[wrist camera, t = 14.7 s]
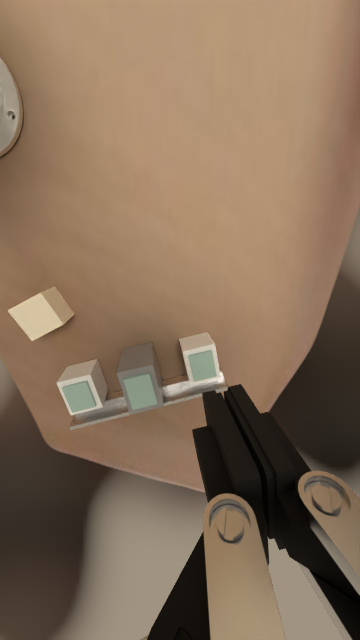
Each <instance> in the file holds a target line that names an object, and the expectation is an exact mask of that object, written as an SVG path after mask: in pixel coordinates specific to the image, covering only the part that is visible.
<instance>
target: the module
mask: <svg viewBox="0 0 360 640" xmlns="http://www.w3.org/2000/svg"><path fill="white" fill-rule="evenodd" d="M117 376H118V379H119V382H120V385H121V388H122V391H123V395H124V398H125V401H126V404H127V407H128V410H129V413H130V414H134V413H138V412H142V411H147V410H151V409H155V408H159V407H163V406H164V402H163V390H162V378H161V374H160V370H159V366H158V362H157V359H156V355H155V351H154V347H153V343H152V342H150V343H145V344H141V345H137V346H133V347H128V348H124V349H123V350H122V354H121V358H120V362H119V365H118V369H117Z"/></svg>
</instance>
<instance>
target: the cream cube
mask: <svg viewBox="0 0 360 640" xmlns="http://www.w3.org/2000/svg"><path fill="white" fill-rule="evenodd" d="M7 311H8V312H9V313H10V314H11V316H12V317H13V318H14V319H15V321H16V322H17V323H18V324H19V326H20V327H21V328H22V329H23V330H24V332H25V333H26V334H27V335H28V337H29V338H30V339H31V340H32V341H34V340H35V339H37V338H39V337H41V336H43V335H45V334H47V333H49V332H51V331H52V330H54V329H56V328H58V327H60V326H62V325H64V324H65V323H66V322H67V321H68V320H69V319H70V318H71V317H72V316H73V315H74V313H73V311H72V310H71V309H70V307H69V306H68V304H67V303H66V301H65V300H64V299H63V297H62V296H61V294H60V293H59V291H58V290H57V289H56V287H55V286H54V287H51V288H49V289H47V290H45V291H43V292H41V293H39V294H37V295H35V296H33V297H31V298H30V299H28V300H26V301H24V302H22V303H20V304H18V305H17V306H15V307H13V308H11V309H9V310H7Z"/></svg>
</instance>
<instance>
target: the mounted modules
mask: <svg viewBox="0 0 360 640" xmlns="http://www.w3.org/2000/svg"><path fill="white" fill-rule="evenodd" d="M179 342H180V346H181V350H182V355H183V359H184V363H185V368H186V372H187V375H188V379H189V382H190V385H193V384H197V383H201V382H205V381H209V380H213V379H217V378H221V375H220V370H219V364H218V359H217V353H216V347H215V343H214V342H213V340H212V338H211V337H210V335H209V334H208V332H205V333H201V334H197V335H193V336H189V337H185V338H181V339H179ZM57 385H58V388H59V390H60V392H61V394H62V397H63V399H64V401H65V403H66V406H67V408H68V410H69V412H70V415H75V414H79V413H83V412H87V411H90V410H94V409H98V408H102V407H103V405H104V402H105V398H106V395H107V391H108V387H107V384H106V382H105V379H104V376H103V373H102V371H101V368H100V365H99V363H98V360H97V359H95V360H91V361H87V362H83V363H78V364H74V365H70V366H67V368H66V369H65V371H64V372H63V374H62V375H61V377H60V378H59V380H58V381H57Z"/></svg>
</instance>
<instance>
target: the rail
mask: <svg viewBox="0 0 360 640" xmlns="http://www.w3.org/2000/svg"><path fill="white" fill-rule="evenodd" d="M219 370H220V375H221V378H217V379H213V380H209V381H205V382H201V383H197V384H193V385H190V382H189V379H188V375H187V374H186V375H182V376H178V377H174V378H170V379H166V380H162V390H163V402H164V406H167V405H171V404H175V403H179V402H182V401H186V400H190V399H194V398H198V397H202V393H204V392H208V391H213V390H215V391H216V393H218V392H221V391H225V390H228V387H229V386H228V384H227V382H226V380H225V379H224V377H223V372H222V370H221V368H220V366H219ZM142 412H143V411H142ZM138 413H139V412H138ZM134 414H136V413H134ZM128 415H132V414H130V413H129V410H128V407H127V404H126V401H125V398H124V395H123V391H118V392H114V393H110V394H107V395H106V398H105V402H104V405H103V407H102V408H98V409H94V410H90V411H87V412H83V413H79V414H75V415H74V417H73V419H72V422H71V424H70V426H69V428H70V430H73V429H77V428H81V427H85V426H89V425H93V424H97V423H100V422H104V421H108V420H112V419H116V418H120V417H124V416H128Z"/></svg>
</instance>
